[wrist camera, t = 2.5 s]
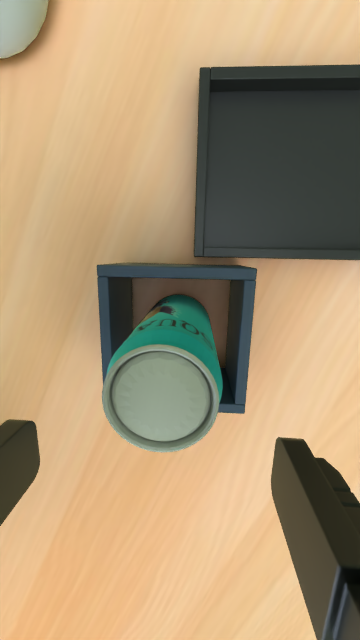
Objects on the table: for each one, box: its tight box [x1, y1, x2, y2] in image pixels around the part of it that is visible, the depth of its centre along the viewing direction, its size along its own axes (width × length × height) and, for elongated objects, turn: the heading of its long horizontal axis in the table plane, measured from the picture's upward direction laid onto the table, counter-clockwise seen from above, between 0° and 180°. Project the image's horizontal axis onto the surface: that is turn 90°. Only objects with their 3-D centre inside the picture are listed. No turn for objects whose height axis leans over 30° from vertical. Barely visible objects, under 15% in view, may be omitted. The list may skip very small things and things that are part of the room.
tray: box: [194, 65, 360, 260], centre depth 21 cm, size 18×14×2 cm
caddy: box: [97, 263, 257, 414], centre depth 23 cm, size 11×11×7 cm
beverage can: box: [102, 295, 223, 452], centre depth 19 cm, size 6×6×15 cm
